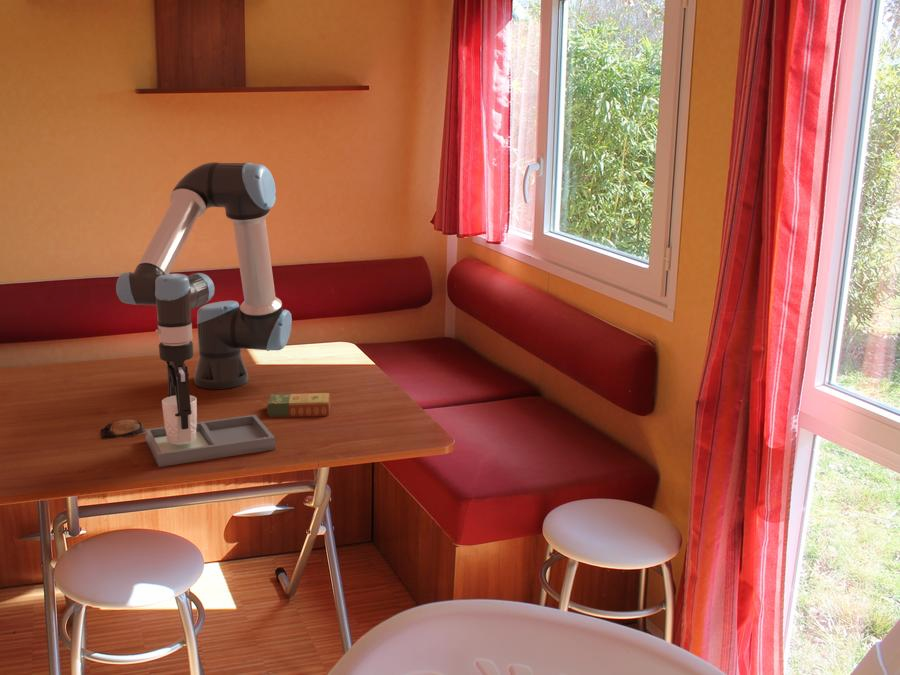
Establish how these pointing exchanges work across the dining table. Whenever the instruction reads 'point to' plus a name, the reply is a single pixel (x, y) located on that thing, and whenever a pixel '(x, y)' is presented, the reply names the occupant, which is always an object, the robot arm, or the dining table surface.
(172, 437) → the white cup
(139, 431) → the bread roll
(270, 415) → the carton
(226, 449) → the gray divided tray
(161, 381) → the dining table surface
